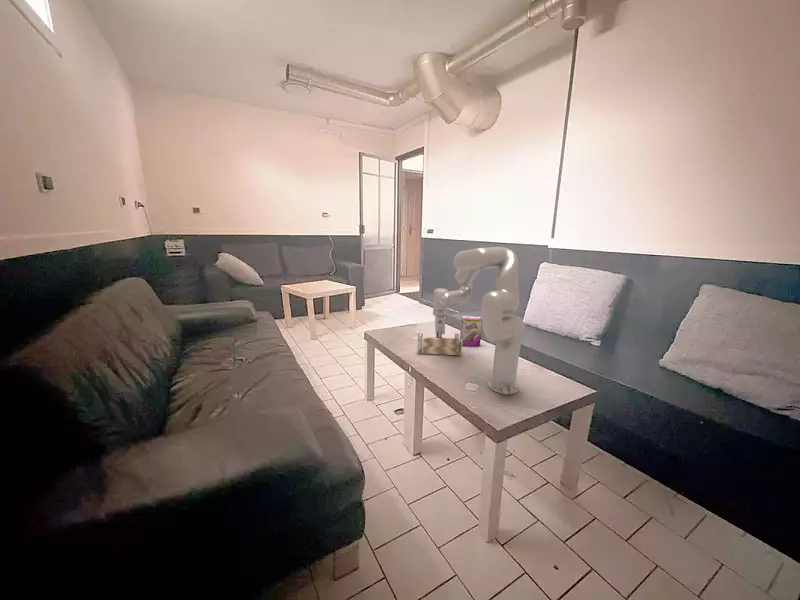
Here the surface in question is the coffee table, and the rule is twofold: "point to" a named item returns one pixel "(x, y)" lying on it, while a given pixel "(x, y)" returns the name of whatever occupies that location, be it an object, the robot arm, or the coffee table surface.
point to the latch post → (456, 335)
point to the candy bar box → (471, 331)
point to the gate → (442, 346)
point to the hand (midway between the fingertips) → (438, 344)
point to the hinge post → (419, 344)
